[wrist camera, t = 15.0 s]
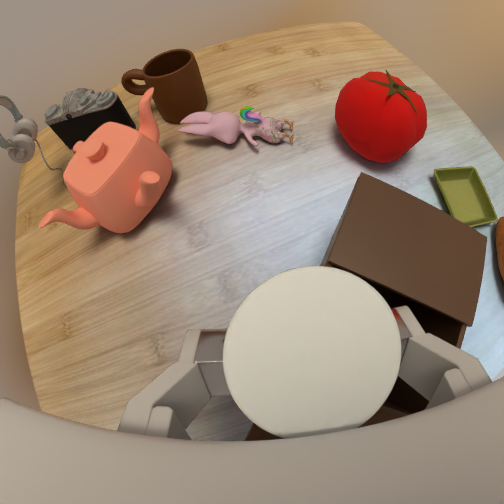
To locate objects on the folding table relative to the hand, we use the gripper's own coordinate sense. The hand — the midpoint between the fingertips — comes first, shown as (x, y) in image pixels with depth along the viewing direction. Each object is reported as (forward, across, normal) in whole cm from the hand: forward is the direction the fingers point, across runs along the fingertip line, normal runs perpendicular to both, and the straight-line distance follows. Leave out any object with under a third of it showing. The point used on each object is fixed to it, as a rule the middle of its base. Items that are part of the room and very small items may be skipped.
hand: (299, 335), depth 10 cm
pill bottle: (+3, 0, +4) cm, 5 cm away
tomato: (+31, -15, -3) cm, 34 cm away
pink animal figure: (+32, +3, -5) cm, 33 cm away
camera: (+38, +26, -10) cm, 47 cm away
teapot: (+27, +17, +1) cm, 32 cm away
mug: (+38, +14, -11) cm, 42 cm away
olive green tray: (+24, -26, +4) cm, 36 cm away
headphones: (+31, +32, -4) cm, 45 cm away
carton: (+15, -8, +13) cm, 21 cm away
